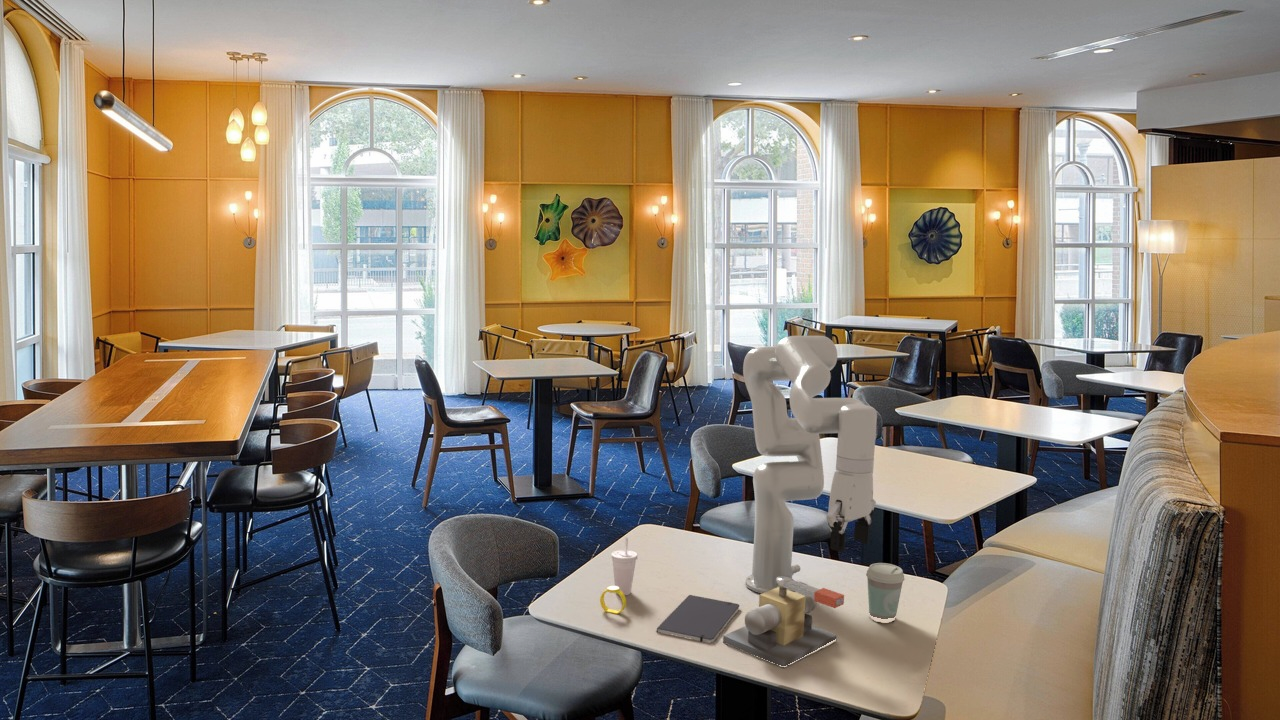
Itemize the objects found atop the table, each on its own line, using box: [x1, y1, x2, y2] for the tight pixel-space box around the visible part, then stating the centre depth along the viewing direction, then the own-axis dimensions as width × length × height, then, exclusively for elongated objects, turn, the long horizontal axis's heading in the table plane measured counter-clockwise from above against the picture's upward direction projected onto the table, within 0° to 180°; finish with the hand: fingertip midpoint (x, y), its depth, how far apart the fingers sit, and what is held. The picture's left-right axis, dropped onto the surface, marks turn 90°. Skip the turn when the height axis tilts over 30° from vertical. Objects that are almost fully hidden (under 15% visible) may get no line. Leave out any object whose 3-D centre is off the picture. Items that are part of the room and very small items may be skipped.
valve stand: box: [722, 587, 837, 666], centre depth 200 cm, size 19×16×12 cm
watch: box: [599, 585, 627, 615], centre depth 213 cm, size 6×3×6 cm, turn 68°
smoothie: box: [610, 536, 638, 596], centre depth 225 cm, size 6×6×14 cm
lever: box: [776, 576, 845, 609], centre depth 195 cm, size 16×3×2 cm, turn 45°
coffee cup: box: [866, 562, 906, 619], centre depth 215 cm, size 9×8×12 cm
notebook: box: [656, 594, 740, 644], centre depth 211 cm, size 13×2×21 cm
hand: (849, 545), depth 195 cm, fingers open, 8 cm apart
